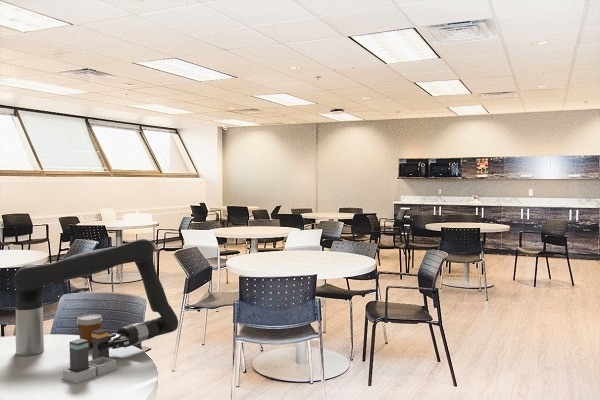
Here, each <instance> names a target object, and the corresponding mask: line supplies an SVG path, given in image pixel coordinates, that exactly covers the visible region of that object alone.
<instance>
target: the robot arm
mask: <svg viewBox="0 0 600 400" xmlns="http://www.w3.org/2000/svg"><path fill="white" fill-rule="evenodd" d="M154 247H155V246H154V245H153V243H152V242H151V241H150V240H149V239H145V238H138V239H135V240H132V241H129V242H127V243H125V244H121V245H117V246H113V247H106V248H105V247H104V248H100V249H99V248H98V249H94V250H89V251H84V252H80V253H77V254H73V255H70V256H68V257H65V258H63V259H60V260H58V261H56V262H53V263H49V264H48V263H47V264H43V265H35V264H31V263H29V264H25V265H22V266H20V268H18V270H17V271H16V272H15V274H14V277H13V283H14V286H15V325H16V326H15V352H16V355H17V356H21V357H22V356H23V357H26V356H28V357H29V356H34V355H35V356H36V355H39V354H41V353H44V350H45V345H44V344H45V341H44V340H45V339H44V338H45V337H44V335H45V334H44V303H43V302H44V287H45V286H48V285H51V284H54V283H58V282H62V281H69V280H73V279H74V280H75V279H80V278H85V277H88V276H92V275H96V274H99V273H102V272H105V271H107V270H110V269H112V268H115V267H117V266H121V265H125V264H130V263H134V264H135V265H136V267H137V270H138V272H139V275H140V278H141V280H142V283H143V286H144V292H145V293H146V297H147V300H148V304H149V306H150V309H151V311H152V312H153V313H158V314H159V317H157V318H156V317H155V318H152V319H150V320H145V321H141V322H137V323H132V324H129V325H125V326H122V327H119V329H118V330H117V331H116V332H114V333H111V334H109V341H107V342H104V343H100V344H98V345H97V350H98V351H100V350H103V349H106V348H108V349H109V350H110V349H113V350H116V349H120V348H128V347H131V346H134V345H137V344H141V343H143V342H145V341H147V340H151V339H153V338H155V337H159V336H162V335H167V334H170V333H173V332H176V330H177V329H178V327H179V319H178V316H177V314H176V313H175V311H174V310H173V308H172V306H171V305H170V303H169V301H168V299H167V298H168V297H167V295H166V293H165V290H164V287H163V285H162V282H161V280H160V278H159V276H158V272H157V270H156V268H155V267H156V266H155V262H154V258H153V255H154V252H155V251H154V250H155V248H154ZM89 348H92V342H89Z"/></svg>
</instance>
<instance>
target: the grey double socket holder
mask: <svg viewBox="0 0 600 400" xmlns="http://www.w3.org/2000/svg"><path fill="white" fill-rule="evenodd" d="M116 370H118V367H117V360H116V359H113V358H110V357H109V358H107V357H100V358H97V359H94V360H92V359H91V360H89V369H86V370H83V371H81V372H78V373H76V372H73V371H70V366H69V367H66V368H63V369H62V378H61V380H63V381H66V382H68V383H71V384H74V385H78V384H80V383H83V382H86V381H89V380H92V379H94V378H97V377H99V376H103V375H106V374H108V373H111V372H113V371H116Z"/></svg>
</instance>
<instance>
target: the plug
mask: <svg viewBox="0 0 600 400" xmlns="http://www.w3.org/2000/svg"><path fill="white" fill-rule="evenodd" d="M109 335H110V333H109V329H104V328H101V329H98V330H94V331H92V349H91V354H92V356H91V357H92V358H91V360H94V359H97V358H100V357H107V358H110V349H108V348H106V349H103V350H100V351H98V350H97V345H98V344H100V343H104V342H107V341H109Z"/></svg>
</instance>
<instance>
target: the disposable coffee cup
mask: <svg viewBox="0 0 600 400" xmlns="http://www.w3.org/2000/svg"><path fill="white" fill-rule="evenodd" d="M102 321H103V318H102V315H101V314H96V313H93V314H92V313H88V314H84V315H79V316H78V317H77V320H76V324H77V327H78V334H79V339H84V340H88V351H89V350H92V348H89V342H92V331H94V330H98V329H102Z"/></svg>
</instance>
